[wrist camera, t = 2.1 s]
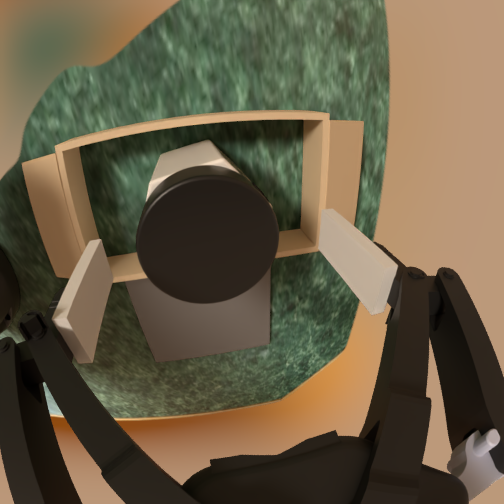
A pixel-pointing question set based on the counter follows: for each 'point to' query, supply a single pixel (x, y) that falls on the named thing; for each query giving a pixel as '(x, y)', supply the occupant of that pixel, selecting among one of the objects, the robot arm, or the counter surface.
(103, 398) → the counter surface
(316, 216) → the carton
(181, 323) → the mat
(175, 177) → the jar
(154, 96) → the counter surface
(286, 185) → the counter surface
